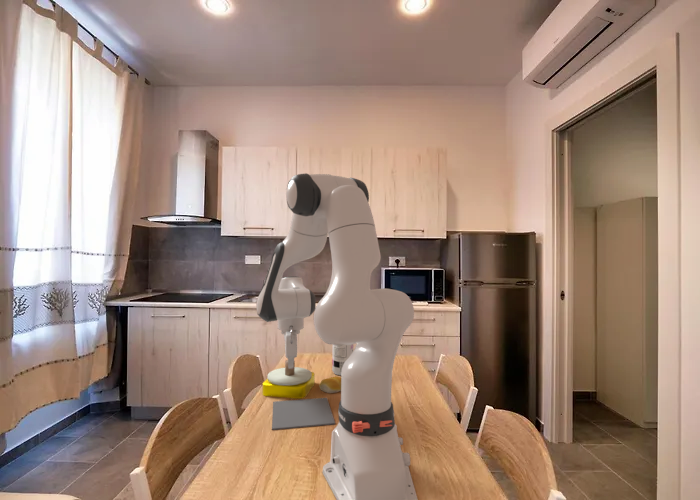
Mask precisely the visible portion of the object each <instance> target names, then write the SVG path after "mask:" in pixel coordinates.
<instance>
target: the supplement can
mask: <svg viewBox="0 0 700 500" xmlns="http://www.w3.org/2000/svg"><path fill="white" fill-rule="evenodd" d="M353 351H354V344H352V345H332V362H331V363H332V367H331V368H332V370H331V371H332V373H333V374H335V376H339V377H340V376H341V371H342V367H343V364H344V363H345V361H346V360H347V359H348V358H349V357H350V355H351V354H352V353H353Z"/></svg>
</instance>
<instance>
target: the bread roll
mask: <svg viewBox="0 0 700 500" xmlns="http://www.w3.org/2000/svg"><path fill="white" fill-rule="evenodd" d="M319 389H320V391H322V392H325V393H328V394H335V393H338V392H341V377H340V376H339V375H335V376H331V377H328V378H324V379H322V380H321V381H320V382H319Z"/></svg>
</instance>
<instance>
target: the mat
mask: <svg viewBox="0 0 700 500" xmlns="http://www.w3.org/2000/svg"><path fill="white" fill-rule="evenodd" d="M271 417H272V419H271V420H272V423H271V430H272V431H274V430H276V431H277V430H287V429H288V430H289V429H297V428H308V427H319V426H321V427H322V426H331V425H336V421H335V418H334V415H333V412H332V409H331V407H330V403H329V400H328V397H318V398H317V397H315V398H301V399H290V400H289V399H288V400H278V401H275V400H274V401H272V416H271Z"/></svg>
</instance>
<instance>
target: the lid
mask: <svg viewBox="0 0 700 500" xmlns="http://www.w3.org/2000/svg"><path fill="white" fill-rule="evenodd" d="M295 362H296V361H295V360H294V368H292V369H289V368H288V359H285V363H284V365H285V366H284V367H279V368H276V369H273V370H271V371H269V372H268V374H267V378H268V381H269V382H271V383H273V384H277V385H297V384H301V383H304V382H307V381H309V380H310V379H311V377H312V373H311V372H312V371H311V370H310V369H307V368H305V367H297V366H296V365H295Z"/></svg>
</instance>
